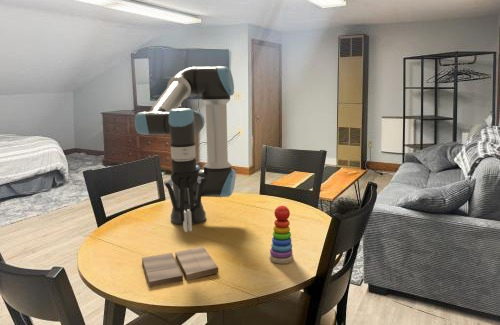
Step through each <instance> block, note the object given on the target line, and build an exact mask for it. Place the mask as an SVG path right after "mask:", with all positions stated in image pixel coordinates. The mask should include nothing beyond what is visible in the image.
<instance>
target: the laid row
mask: <svg viewBox="0 0 500 325" xmlns="http://www.w3.org/2000/svg"><path fill="white" fill-rule="evenodd" d="M141 263H142V266H143V270H144V274H145V276H146V280H147V283H148V286H149V288H154V287H159V286H162V285H169V284H174V283H179V282H183V281H184V274H182V273H183V272H182V270H181V268H180V266H179V265H178V263H177V260H176V259H175V256H174V254H173V252H169V253H162V254H157V255H151V256H145V257H142V258H141Z"/></svg>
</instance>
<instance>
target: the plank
mask: <svg viewBox="0 0 500 325" xmlns="http://www.w3.org/2000/svg"><path fill="white" fill-rule="evenodd" d="M175 258H176V259H175V260H176V262H178V263H177V264H179V265H178V266H179V268H180V270H181V272H182V273H183V276H184V277H185V278H186V280H187V281H189V280H194V279H197V278H198V279H199V278H201V277H206V276H210V275H214V274H218V273H219V267H218V266H217V264H216V262H215V261H214V259H213V258H212V257H211V255H210V254H209V252H208V250H206V248H205V246H199V247H193V248H189V249H184V250H180V251H179V250H178V251H175Z"/></svg>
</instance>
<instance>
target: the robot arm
mask: <svg viewBox="0 0 500 325" xmlns="http://www.w3.org/2000/svg"><path fill="white" fill-rule="evenodd" d="M234 83H235V82H234V79H233V73H232V71H231V69H230V68H229V67H227V66H225V65H224V66H222V65H215V66H212V65H210V66H209V65H208V66H192V67H191V66H190V67H186V68H185V69H182V70H180V71H178V72H177V73H175V74H174V75H173V76H172V77H171V78H170V79H169V81H168V82H167V87H166V89H165V90H164V91H163V92H162V93H161V95H160V96H159V97H158V98H157V100H156V101H155V102H154V103H153V105H152V106H151V107H150V108H149V110H148V111H141V112H140V111H139V112H137V113H136V115H135V117H134V127H135V130H136V131H135V132H137V134H138V135H139V134H140V135H147V136H155V135H157V136H161V135H163V136H164V135H165V136H167V135H169V141H170V142H169V143H170V157H171V159H172V160H171V175H170V179H169V180H165V181H164V182H163V184H164V186H165V187H166V189H167V191H168V195H169V199H170V202H171V206H172V209H171V214H170V221H171V223H173V224H176V225H182V226H183V230H184V232H185V233H187V232H192V231H193V225H196V224H199V223H202V222H204V221H205V220H206V219H207V214H206V211H205V210H204V206H203V203H202V197H203V198H204V197H206V198H225V197H226V198H229V197H230V196H232V195H233V193H234V189H235V184H236V177H237V176H236V175H237V174H236V169H232V164H231V163H230V162H229V161H228V154H229V153H228V121H227V120H228V118H227V117H228V116H227V115H228V112H227V110H228V108H227V106H228V105H227V104H228V103H229V102H230V101H231V96H234V93H235V85H234ZM191 96H198V97H200V96H201V101H202V102H203V103H204V105H205V117H204V116H203V114H202V113H201V112H200V111H198V110H193V109H192V108H189V107H187V108H186V107H181V108H179V107H180V106H181V104H182V103H183V101H184V100H186V99H188V98H189V97H191ZM205 124H206V126H205ZM204 126H205V129H206V131H205V132H206V156H207V157H206V160H207V161H206V163H204V165H203V168H201V167H200V165H199V164H197V159H196V156H197V155H196V140H195V139H196V137H195V136H196V134H199V133H200V132H201V131H202V130H203V129H204Z"/></svg>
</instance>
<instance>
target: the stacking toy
mask: <svg viewBox="0 0 500 325" xmlns="http://www.w3.org/2000/svg"><path fill="white" fill-rule="evenodd" d="M290 214H291V212H290V209H289V208H288V207H287V206H285V205H279V206H277V207H276V208H275V209H274V217H275V220H274V226H273V229H272V230H273V233H272V236H273V237H272V239H271V242H272V243H271V245H270V246H271V248H270V250H269V259H270V261H271V262H272V263H275V264H282V265H283V264H285V265H286V264H290V263H291V262H292V261H293V260H294V254H293V244H292V234H291V232H290V231H291V227H290V226H289V225H290V220H288V219H289V218H290V216H291V215H290Z"/></svg>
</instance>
